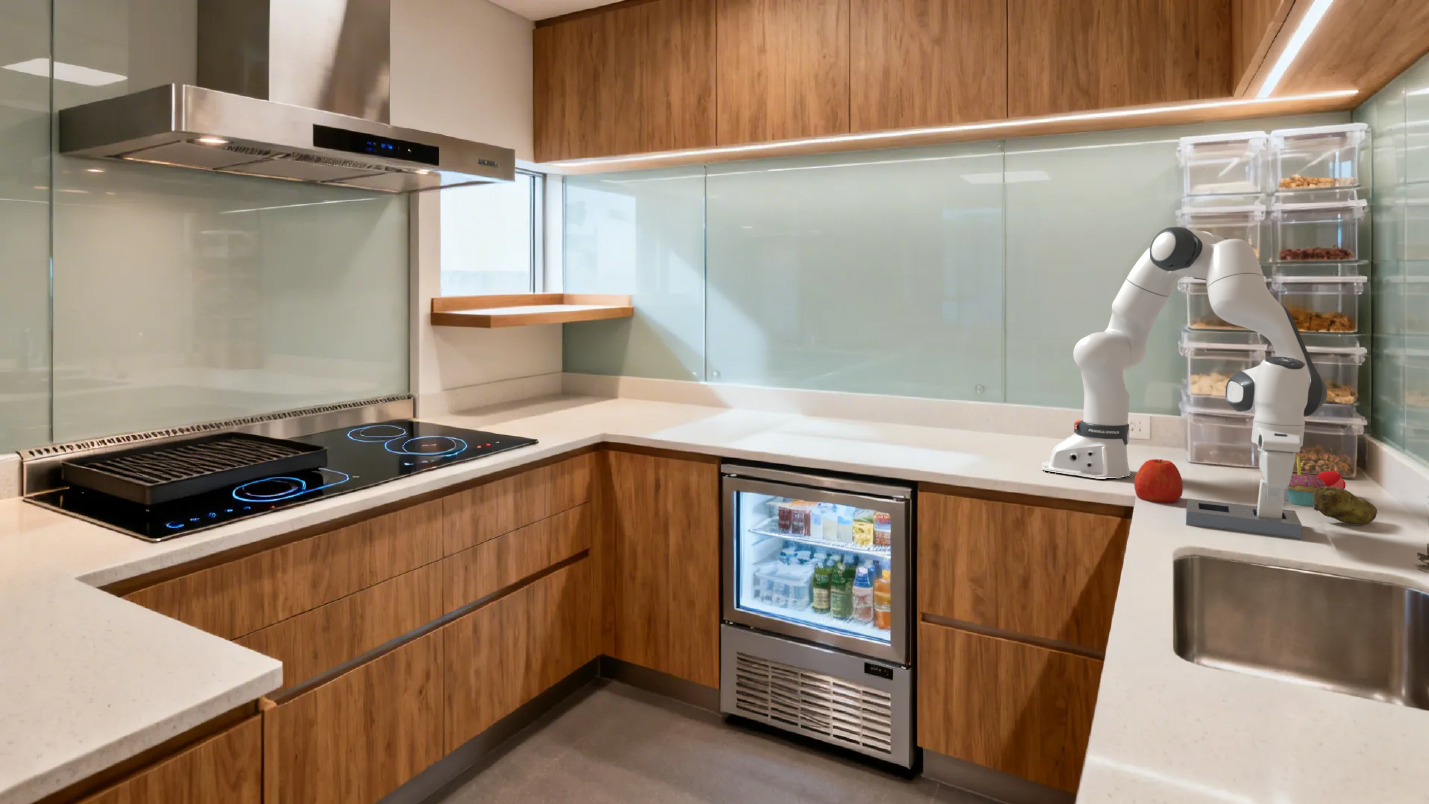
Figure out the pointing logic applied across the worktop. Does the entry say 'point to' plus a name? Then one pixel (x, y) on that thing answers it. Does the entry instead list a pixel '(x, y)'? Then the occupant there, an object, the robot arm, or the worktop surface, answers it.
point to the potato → (1343, 506)
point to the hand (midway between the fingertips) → (1270, 500)
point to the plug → (1270, 509)
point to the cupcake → (1303, 487)
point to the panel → (1241, 519)
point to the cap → (1332, 479)
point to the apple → (1158, 482)
